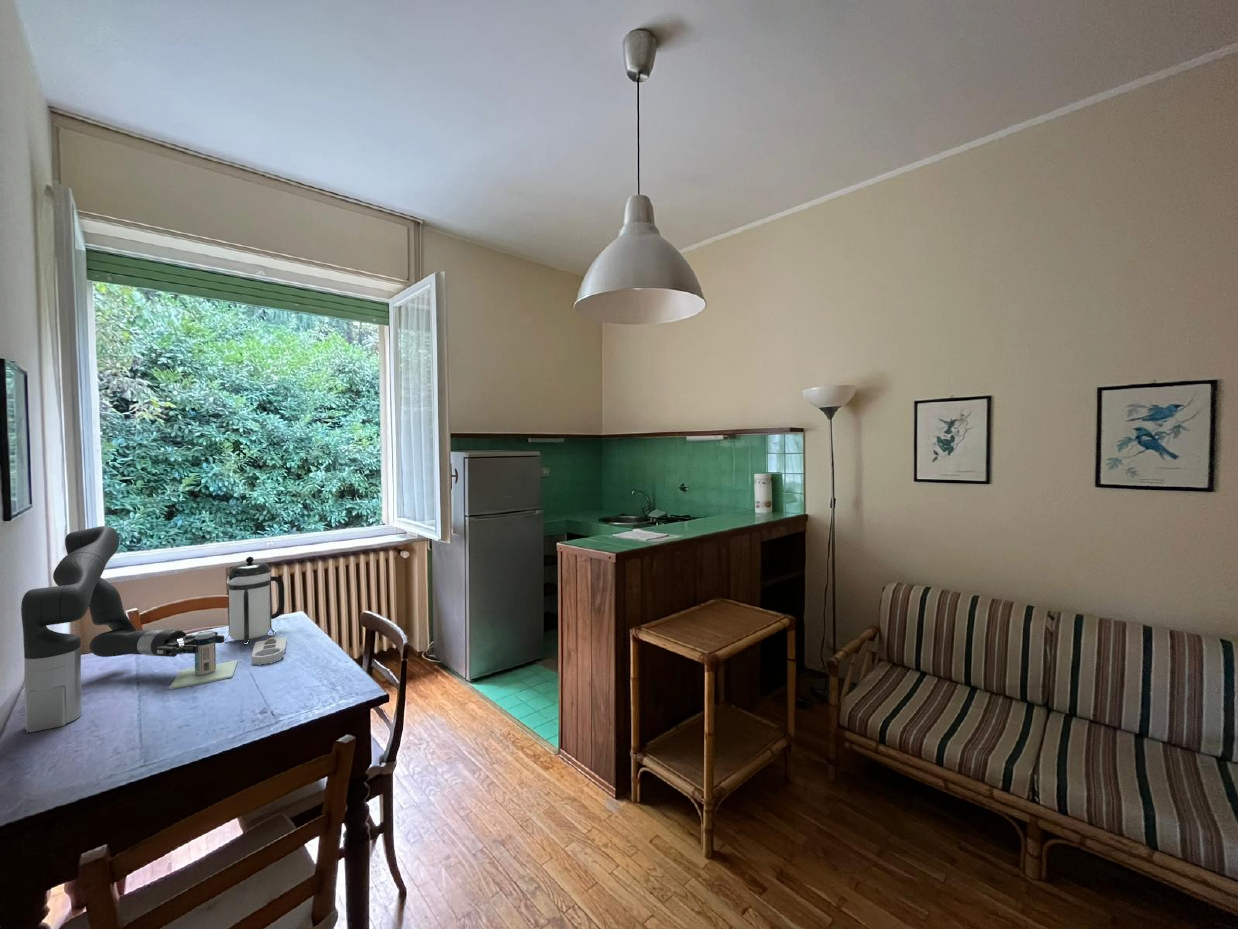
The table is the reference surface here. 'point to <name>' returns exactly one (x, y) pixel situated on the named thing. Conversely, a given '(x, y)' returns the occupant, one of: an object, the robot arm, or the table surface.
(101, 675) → the table surface
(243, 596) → the coffee press
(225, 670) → the sage mat
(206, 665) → the beer can
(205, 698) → the table surface
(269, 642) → the charging dock
